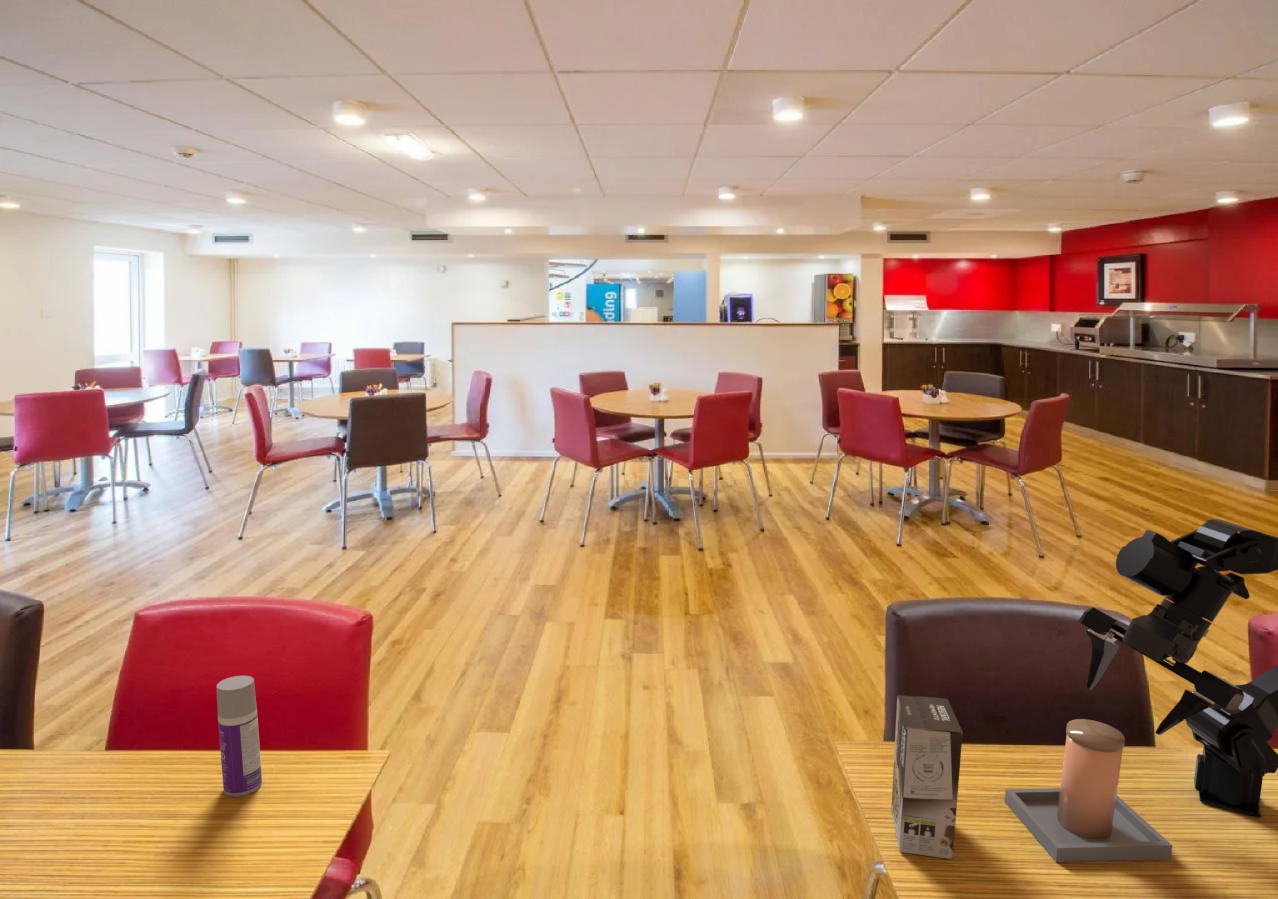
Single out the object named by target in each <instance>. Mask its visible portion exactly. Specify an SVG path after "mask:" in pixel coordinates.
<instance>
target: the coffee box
mask: <svg viewBox="0 0 1278 899" xmlns="http://www.w3.org/2000/svg"><path fill="white" fill-rule="evenodd" d="M896 700H897V701H896V714H895V717H896V718H895V736H894V753H893V771H892V772H893V773H892V774H893V775H892V789H891V790H892V793H891V815H892V820H893V825H894V830H895V834H896V840H897V844H898V845H897V846H898V850H899V852H900V853H906V854H912V855H913V854H914V855H919V856H926V857H927V856H928V857H933V858H934V857H935V858H940V859H946V860H947V859H948V860H952V859H953V857H954V845H955V835H956V834H955V832H956V831H955V830H956V822H957V821H956V820H957V819H956V818H957V808H958V794H959V793H958V792H959V782H960V770H961V769H960V768H961V757H962V742H963V734H964V732H963V729H962V727H961V725H960V723H959V721H958V718H957V716H956V715H955V714H956V713H954V709H953V707H952V705H951V703H950V700H949V699H948V698H943V697H942V698H940V697H932V696H918V695H917V696H910V695H901V694H900V695H899V694H898V695H897V699H896Z"/></svg>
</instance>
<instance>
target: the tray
mask: <svg viewBox="0 0 1278 899" xmlns="http://www.w3.org/2000/svg"><path fill="white" fill-rule="evenodd" d="M1004 791H1005V792H1004V803H1005V805H1007V806H1008V808H1009V809H1010V810H1011V811H1012V812H1013V814H1014V815H1015V816H1016V817H1017V818H1018V819H1019V821H1020V822H1021V823H1022V824H1023V825H1024V826H1025V828H1026V829H1027V830H1028V831H1029V832H1030V834H1031V835H1032V836H1033V837H1034V838H1035V840H1037V842H1039V844H1040V846H1041V847H1043V849H1044V850H1045V851H1046V852H1047V854H1048V855H1049V856H1050V857H1051V858H1052V859H1053V861H1055V863H1063V862H1064V863H1067V862H1068V863H1071V862H1072V863H1073V862H1107V861H1108V862H1110V861H1111V862H1112V861H1114V862H1115V861H1118V862H1119V861H1146V860H1147V861H1150V860H1151V861H1152V860H1153V861H1154V860H1155V861H1156V860H1172V854H1173V853H1172V852H1173V844H1172V843H1170V842H1169V840H1167V839H1166V838H1165V837H1164V836H1163V835H1162V834H1161V833H1160V832H1159V831H1158V830H1156V829H1155V828H1154V827H1153V826H1151V825H1150V823H1148V821H1146V820H1145V819H1144V818H1143V817H1142V816H1140V814H1139V813H1137V812H1136V811H1135V810H1134V809H1133V808H1132V807H1131V806H1129V804H1127V803H1126V802H1125V801H1124V799H1122V798H1120V796H1119V795H1118V794H1117V795H1116V803H1115V810H1114V818H1113V825H1112V833H1111V835H1110V836H1109V837H1108V838H1105V839H1090V838H1085V837H1082V836H1079V835H1077V834H1074V833H1072V832H1071V831H1069V830H1067V829H1066V828H1065V827H1063V826H1062V825H1061V824H1060V822H1059V821H1058V819H1057V812H1058V803H1059V795H1060V787H1053V788H1052V787H1048V788H1047V787H1046V788H1043V787H1041V788H1040V787H1039V788H1006V789H1005V790H1004Z"/></svg>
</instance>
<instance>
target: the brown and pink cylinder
mask: <svg viewBox="0 0 1278 899" xmlns="http://www.w3.org/2000/svg"><path fill="white" fill-rule="evenodd" d="M1065 732H1066V738H1065V748H1064V756H1063V764H1062V770H1061V771H1062V772H1061V778H1060V780H1061V781H1060V786H1059V788H1060V795H1059V803H1058V812H1057V819H1058V821H1059V822H1060V824H1061V825H1062V826H1063V827H1065V828H1066V829H1067V830H1069V831H1071V832H1072V833H1074V834H1077V835H1079V836H1082V837H1085V838H1090V839H1105V838H1108V837H1109V836H1110V835H1111V833H1112V825H1113V818H1114V810H1115V803H1116V795H1117V796H1118V794H1117V793H1118V787H1119V780H1120V779H1119V778H1120V773H1121V772H1120V771H1121V764H1122V758H1123V757H1122V756H1123V750H1124V748H1125V743H1126V742H1125V741H1126V739H1125V736H1124V734H1123V733H1122V732H1121V731H1120V730H1118V729H1117V728H1116V727H1113V726H1111V725H1109V724H1107V723H1104V722H1101V721H1096V720H1093V719H1086V718H1077V719H1072V720H1069V721H1068V722H1067V723H1066V731H1065Z"/></svg>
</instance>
